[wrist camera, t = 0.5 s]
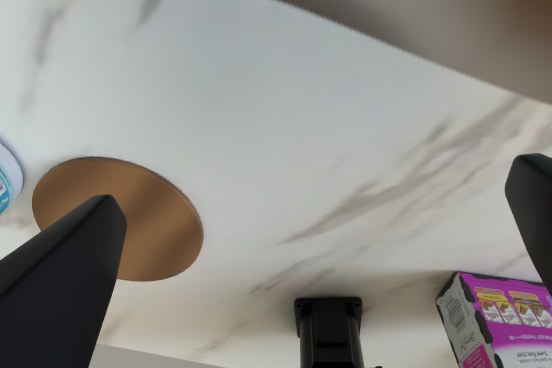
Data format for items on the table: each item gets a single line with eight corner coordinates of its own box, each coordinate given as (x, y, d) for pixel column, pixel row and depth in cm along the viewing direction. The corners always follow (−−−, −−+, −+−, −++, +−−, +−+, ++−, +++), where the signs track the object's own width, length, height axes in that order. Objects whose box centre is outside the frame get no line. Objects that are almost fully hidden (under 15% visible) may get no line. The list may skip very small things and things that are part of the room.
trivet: (232, 211, 28) (231, 215, 28) (165, 294, 35) (164, 299, 35) (57, 123, 24) (53, 127, 24) (21, 238, 31) (17, 242, 31)
